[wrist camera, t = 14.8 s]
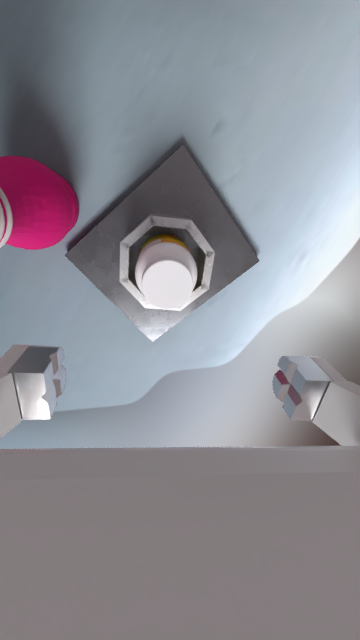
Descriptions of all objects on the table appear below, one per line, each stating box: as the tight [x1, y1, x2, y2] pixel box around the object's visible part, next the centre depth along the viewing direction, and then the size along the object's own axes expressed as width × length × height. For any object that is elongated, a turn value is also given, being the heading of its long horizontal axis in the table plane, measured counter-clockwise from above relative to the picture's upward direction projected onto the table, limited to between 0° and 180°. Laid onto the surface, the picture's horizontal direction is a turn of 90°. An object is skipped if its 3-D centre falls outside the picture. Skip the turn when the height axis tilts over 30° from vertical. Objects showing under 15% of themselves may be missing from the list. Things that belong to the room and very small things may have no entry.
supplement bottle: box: [135, 233, 197, 310], centre depth 24 cm, size 5×5×10 cm
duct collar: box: [65, 144, 259, 342], centre depth 27 cm, size 16×14×5 cm
